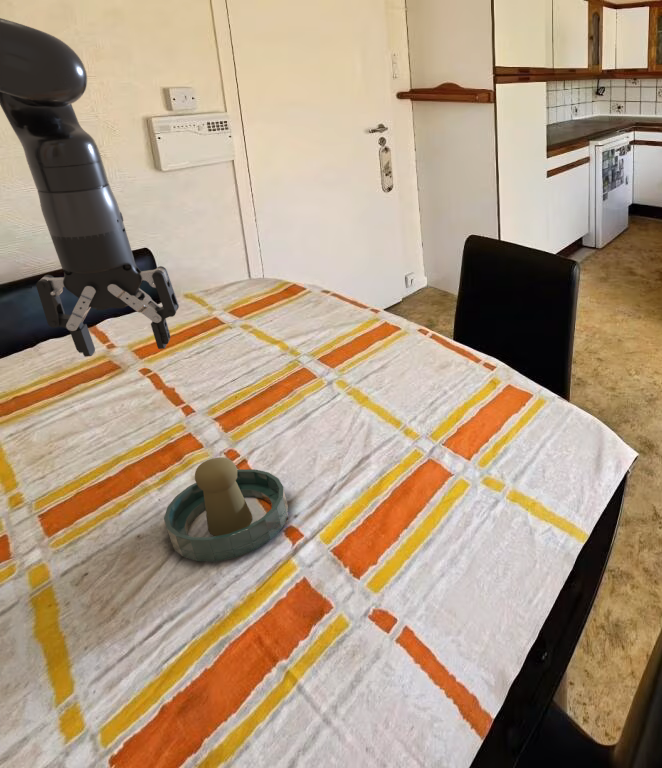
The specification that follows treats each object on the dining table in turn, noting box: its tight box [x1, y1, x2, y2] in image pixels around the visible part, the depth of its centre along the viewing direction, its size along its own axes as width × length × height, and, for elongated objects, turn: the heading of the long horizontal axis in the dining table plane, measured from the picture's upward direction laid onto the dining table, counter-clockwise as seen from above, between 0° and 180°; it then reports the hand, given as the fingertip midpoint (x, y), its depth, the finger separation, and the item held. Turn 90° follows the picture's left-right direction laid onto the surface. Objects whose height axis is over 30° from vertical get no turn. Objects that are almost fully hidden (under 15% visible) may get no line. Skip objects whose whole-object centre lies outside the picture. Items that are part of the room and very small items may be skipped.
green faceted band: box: [163, 468, 289, 562], centre depth 87 cm, size 15×15×5 cm
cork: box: [194, 456, 253, 537], centre depth 85 cm, size 6×6×11 cm
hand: (127, 350), depth 81 cm, fingers open, 8 cm apart
